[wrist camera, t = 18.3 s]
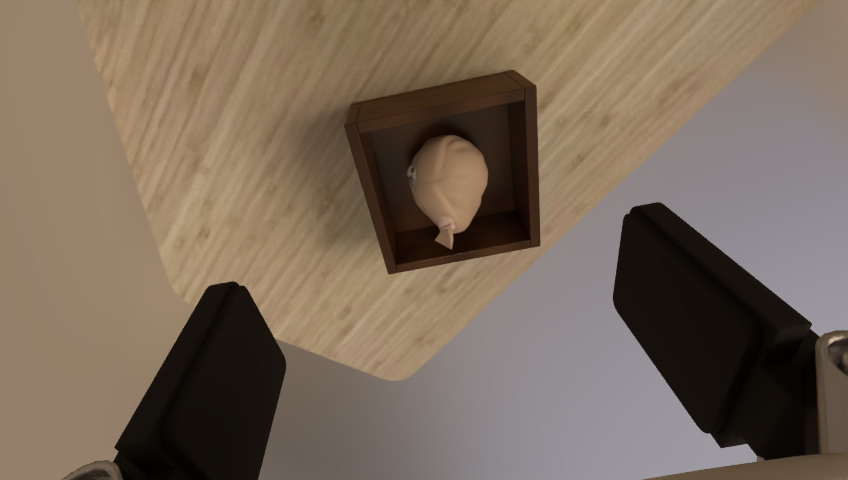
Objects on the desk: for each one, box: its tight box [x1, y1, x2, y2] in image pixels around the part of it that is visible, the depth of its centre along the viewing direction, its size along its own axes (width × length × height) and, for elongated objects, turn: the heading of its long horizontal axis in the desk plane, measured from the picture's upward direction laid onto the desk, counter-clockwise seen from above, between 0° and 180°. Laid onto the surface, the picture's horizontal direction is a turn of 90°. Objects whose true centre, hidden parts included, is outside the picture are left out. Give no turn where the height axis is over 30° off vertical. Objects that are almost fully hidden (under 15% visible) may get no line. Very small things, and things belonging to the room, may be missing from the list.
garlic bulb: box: [407, 135, 488, 249], centre depth 30 cm, size 7×6×8 cm
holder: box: [344, 70, 540, 274], centre depth 31 cm, size 13×13×6 cm
